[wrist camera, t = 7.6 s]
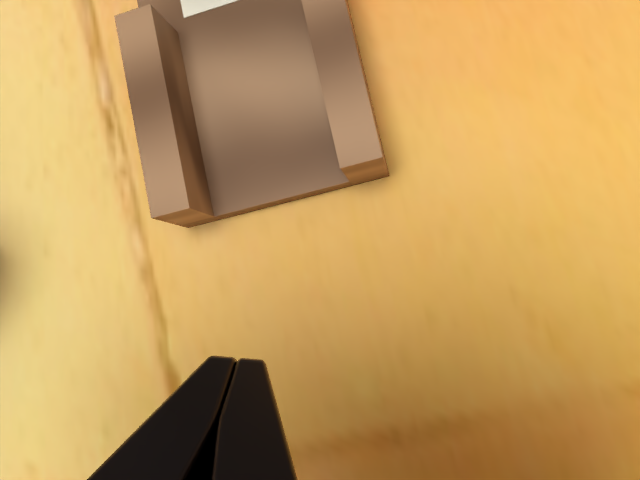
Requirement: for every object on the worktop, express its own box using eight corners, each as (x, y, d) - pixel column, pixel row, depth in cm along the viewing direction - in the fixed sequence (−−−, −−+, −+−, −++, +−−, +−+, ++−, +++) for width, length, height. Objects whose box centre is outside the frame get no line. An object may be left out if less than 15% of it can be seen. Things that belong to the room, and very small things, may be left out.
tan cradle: (389, 175, 22) (382, 157, 19) (188, 227, 24) (151, 217, 21) (308, -160, 24) (290, -226, 21) (126, -94, 26) (84, -147, 23)
